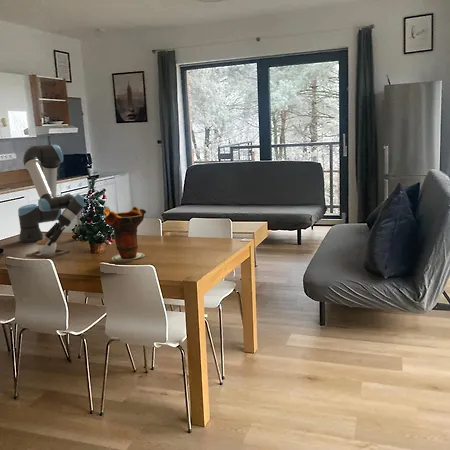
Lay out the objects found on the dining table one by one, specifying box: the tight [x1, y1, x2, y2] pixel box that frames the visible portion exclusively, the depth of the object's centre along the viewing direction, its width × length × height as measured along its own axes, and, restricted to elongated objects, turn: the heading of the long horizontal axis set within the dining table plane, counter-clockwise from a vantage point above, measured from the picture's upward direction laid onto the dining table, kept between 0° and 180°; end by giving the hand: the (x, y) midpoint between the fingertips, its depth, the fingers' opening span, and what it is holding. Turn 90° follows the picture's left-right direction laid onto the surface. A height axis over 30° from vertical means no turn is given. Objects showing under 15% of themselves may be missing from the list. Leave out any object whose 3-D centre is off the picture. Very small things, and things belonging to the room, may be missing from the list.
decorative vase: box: [103, 206, 147, 262], centre depth 266 cm, size 21×23×28 cm
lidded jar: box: [36, 238, 57, 256], centre depth 284 cm, size 11×11×9 cm
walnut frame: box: [25, 248, 70, 260], centre depth 285 cm, size 16×18×1 cm
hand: (42, 248), depth 283 cm, fingers closed on lidded jar, 11 cm apart
